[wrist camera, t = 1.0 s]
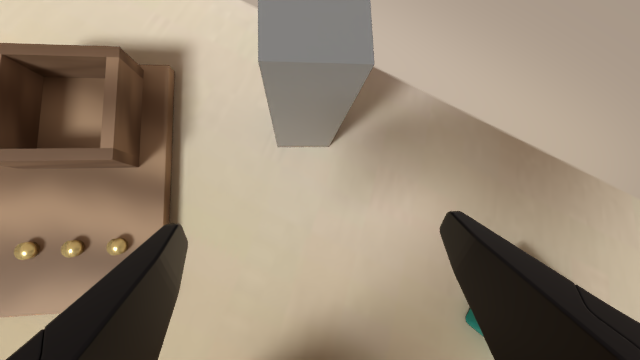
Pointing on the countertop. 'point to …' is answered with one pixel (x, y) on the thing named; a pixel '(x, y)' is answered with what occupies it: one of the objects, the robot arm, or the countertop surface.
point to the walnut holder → (77, 168)
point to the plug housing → (313, 65)
